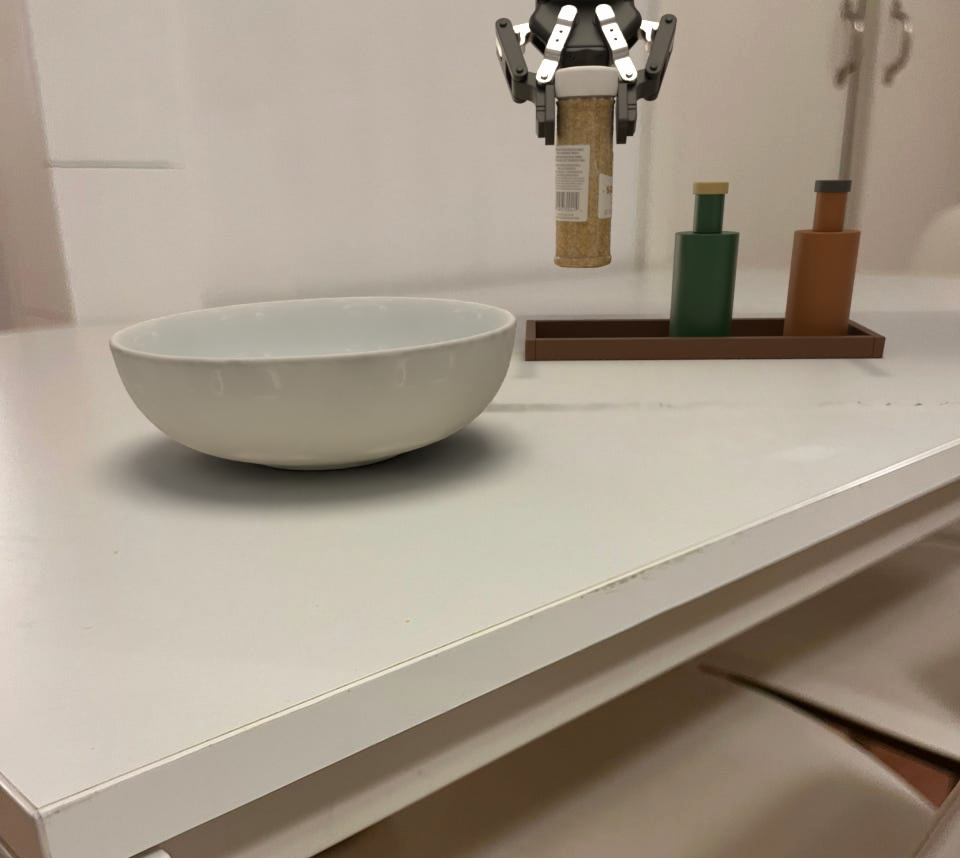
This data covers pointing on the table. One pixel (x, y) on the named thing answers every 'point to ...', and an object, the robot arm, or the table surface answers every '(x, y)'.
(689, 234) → the green bottle
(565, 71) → the sprinkles bottle
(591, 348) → the tray
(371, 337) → the serving bowl
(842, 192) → the amber bottle
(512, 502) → the table surface
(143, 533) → the table surface
